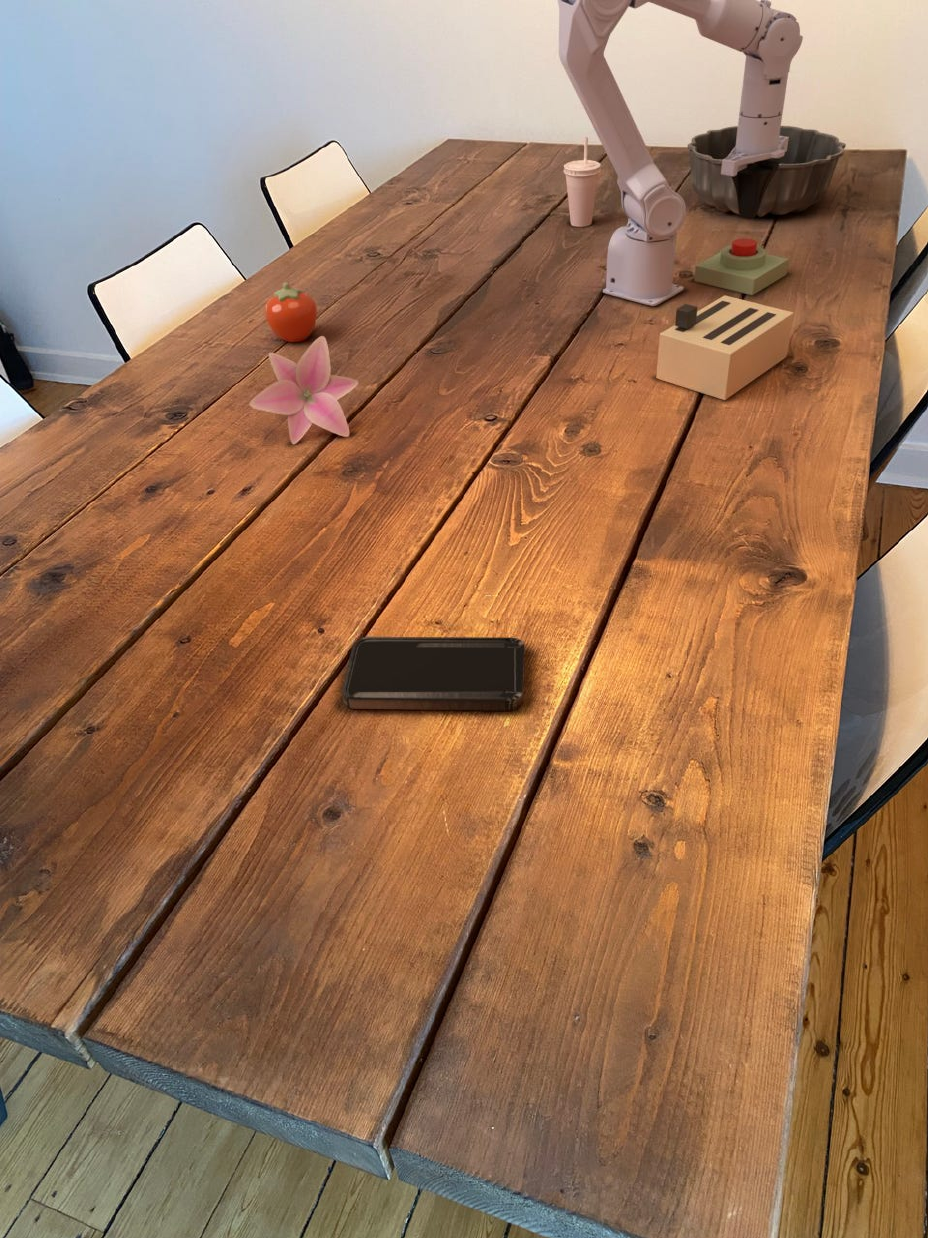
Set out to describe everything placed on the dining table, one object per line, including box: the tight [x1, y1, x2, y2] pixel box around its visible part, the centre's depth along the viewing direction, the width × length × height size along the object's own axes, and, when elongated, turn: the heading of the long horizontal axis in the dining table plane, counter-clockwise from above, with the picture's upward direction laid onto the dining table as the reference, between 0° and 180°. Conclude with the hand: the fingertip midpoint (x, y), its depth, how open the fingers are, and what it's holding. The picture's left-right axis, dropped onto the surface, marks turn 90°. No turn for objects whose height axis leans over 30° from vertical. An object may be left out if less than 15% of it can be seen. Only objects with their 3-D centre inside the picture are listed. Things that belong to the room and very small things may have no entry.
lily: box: [249, 335, 360, 445], centre depth 114 cm, size 12×12×10 cm
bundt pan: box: [687, 125, 847, 218], centre depth 168 cm, size 26×26×10 cm
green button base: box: [693, 244, 790, 296], centre depth 143 cm, size 10×10×4 cm
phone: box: [341, 636, 525, 711], centre depth 80 cm, size 8×1×15 cm
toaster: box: [656, 294, 795, 401], centre depth 120 cm, size 10×15×6 cm, turn 137°
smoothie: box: [563, 136, 602, 228], centre depth 164 cm, size 6×6×14 cm
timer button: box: [731, 237, 758, 257], centre depth 142 cm, size 4×4×2 cm
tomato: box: [264, 281, 318, 343], centre depth 135 cm, size 7×7×8 cm
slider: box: [674, 303, 699, 329], centre depth 117 cm, size 2×2×2 cm
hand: (747, 216), depth 138 cm, fingers closed
